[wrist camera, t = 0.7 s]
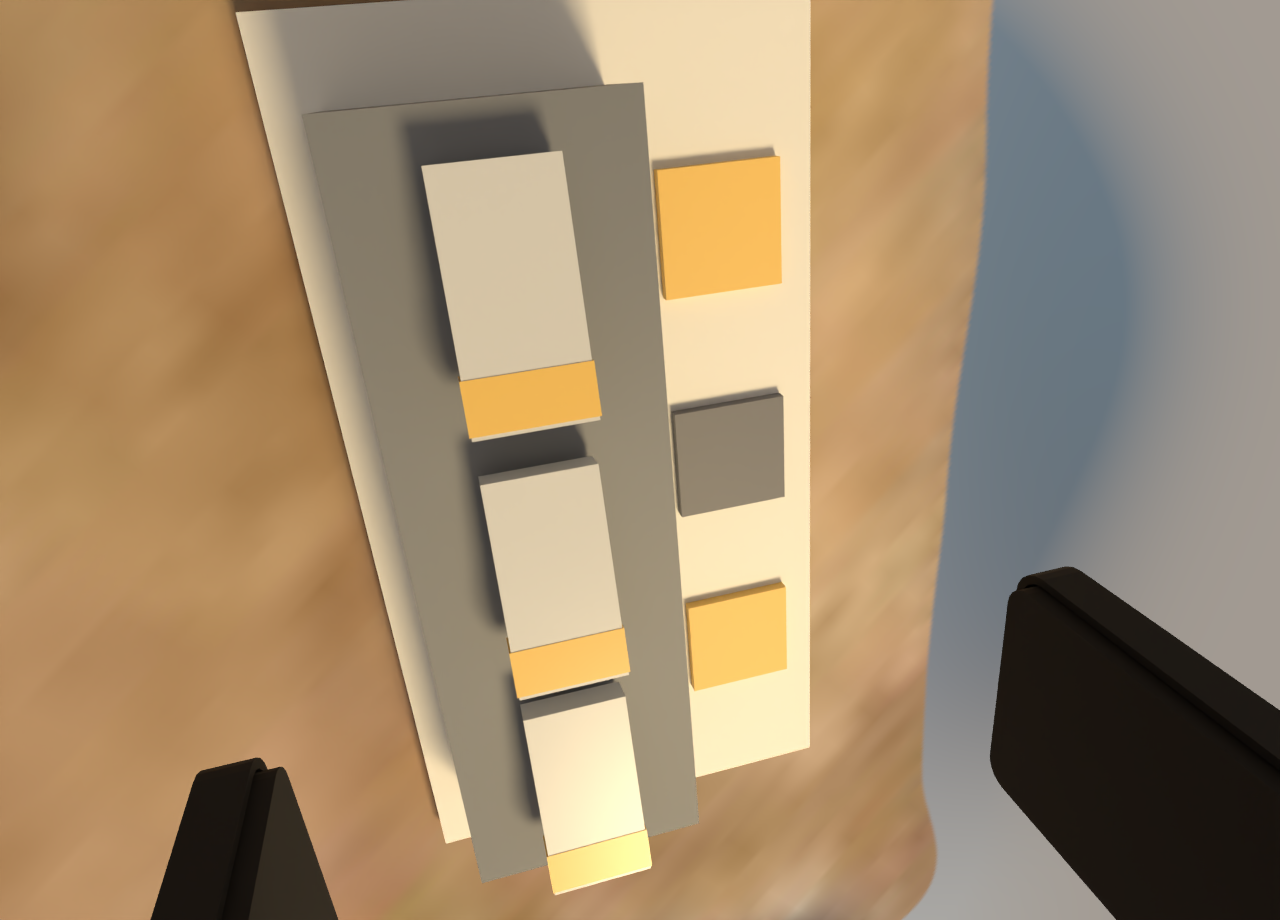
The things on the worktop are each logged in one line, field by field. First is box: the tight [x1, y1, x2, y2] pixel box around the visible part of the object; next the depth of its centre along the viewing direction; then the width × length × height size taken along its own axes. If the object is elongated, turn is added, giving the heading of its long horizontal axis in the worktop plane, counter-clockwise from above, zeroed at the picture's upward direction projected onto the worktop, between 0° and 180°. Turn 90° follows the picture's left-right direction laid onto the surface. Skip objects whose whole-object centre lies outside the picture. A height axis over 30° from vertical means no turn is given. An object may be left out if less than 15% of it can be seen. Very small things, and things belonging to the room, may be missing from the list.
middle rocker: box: [478, 456, 630, 701], centre depth 24 cm, size 6×3×1 cm, turn 5°
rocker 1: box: [421, 151, 602, 442], centre depth 20 cm, size 6×3×1 cm, turn 5°
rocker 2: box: [520, 681, 652, 895], centre depth 27 cm, size 6×3×1 cm, turn 5°
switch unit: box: [235, 0, 810, 883], centre depth 28 cm, size 30×16×6 cm, turn 5°
